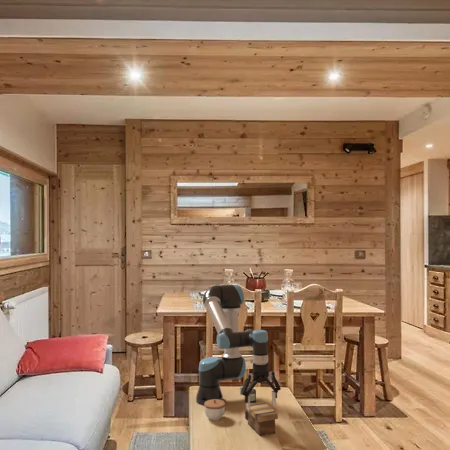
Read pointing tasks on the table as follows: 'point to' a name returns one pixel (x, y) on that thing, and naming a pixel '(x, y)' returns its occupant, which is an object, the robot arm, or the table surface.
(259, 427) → the open wooden box
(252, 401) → the keeper
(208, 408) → the lidded jar
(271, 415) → the lid
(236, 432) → the table surface
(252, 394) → the bolt
